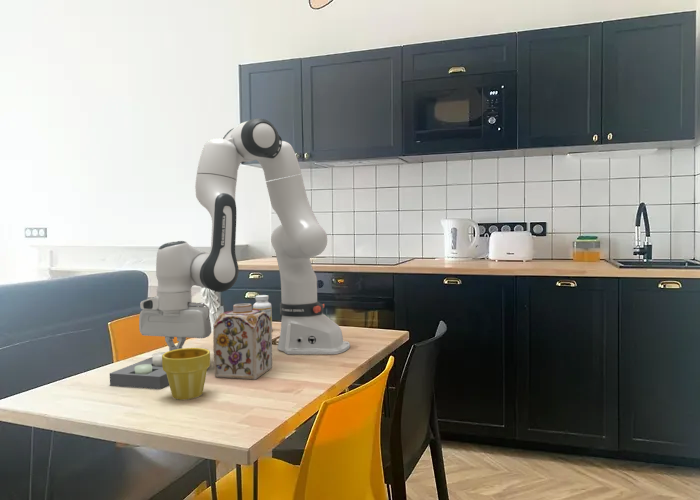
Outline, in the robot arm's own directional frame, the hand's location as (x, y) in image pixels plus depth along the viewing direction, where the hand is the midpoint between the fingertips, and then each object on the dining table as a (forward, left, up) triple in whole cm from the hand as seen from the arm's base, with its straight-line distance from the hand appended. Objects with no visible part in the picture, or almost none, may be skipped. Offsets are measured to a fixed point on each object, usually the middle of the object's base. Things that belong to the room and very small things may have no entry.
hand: (175, 352), depth 146 cm
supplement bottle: (-1, -52, -4) cm, 52 cm away
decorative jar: (-20, 0, -5) cm, 21 cm away
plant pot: (-16, +20, -5) cm, 26 cm away
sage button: (0, +14, -3) cm, 14 cm away
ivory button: (0, +7, -2) cm, 7 cm away
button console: (0, +7, -4) cm, 8 cm away
